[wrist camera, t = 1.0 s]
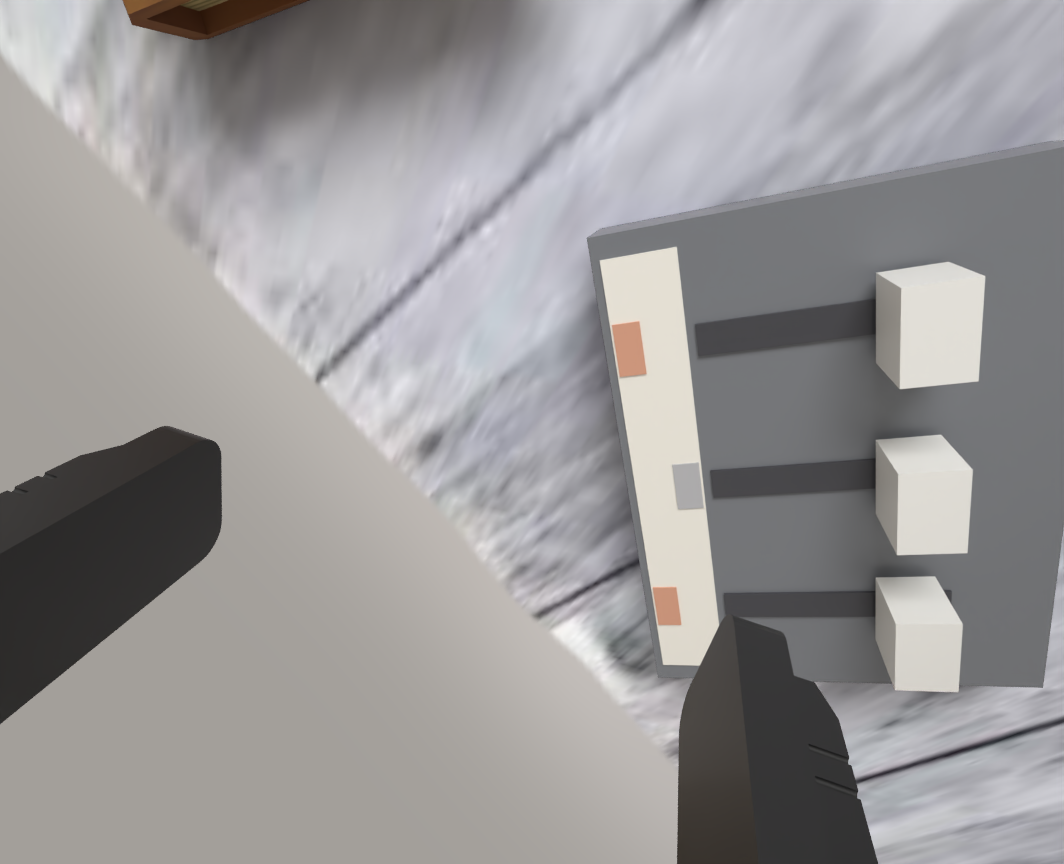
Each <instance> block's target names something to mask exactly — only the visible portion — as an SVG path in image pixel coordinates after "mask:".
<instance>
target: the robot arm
mask: <svg viewBox="0 0 1064 864" xmlns="http://www.w3.org/2000/svg"><path fill="white" fill-rule="evenodd" d="M221 494H222V493H221V451H220V448H219V446H218V445H217V443H216V442H214V441H212V440H209V439H206V438H203V437H200V436H197V435H194V434H191V433H188V432H185V431H182V430H179V429H176V428H173V427H170V426H164V427H159V428H157V429H155V430H153V431H150V432H148V433H146V434H144V435H142V436H141V437H138V438H136V439H134V440H132V441H130V442H128V443H126V444H124V445H121V446H117V447H113V448H109V449H105V450H101V451H97V452H93V453H89V454H85V455H81V456H78V457H76V458H74V459H72V460H70V461H68V462H66V463H64V464H62V465H60V466H57V467H56V468H53V469H51V470H49V471H47V472H45V475H44V476H43V477H40V476H36V477H34V478H32V479H30V480H28V481H26V482H24V483H22V484H20V485H18V486H16V487H15V489H14V491H12V492H10V491H5V492H3V493H1V494H0V724H1V723H2V722H3V721H4V720H6V719H7V718H8V717H9V716H10V715H12V714H13V713H14V712H16V711H17V710H18V709H19V708H20V707H22V706H23V705H24V704H25V703H27V702H28V701H29V700H30V699H32V698H33V697H34V696H35V695H36V694H38V693H39V692H40V691H41V690H43V689H44V688H45V687H46V686H48V685H49V684H50V683H51V682H52V681H54V680H55V679H56V678H57V677H59V676H60V675H61V674H62V673H64V672H65V671H66V670H67V669H69V668H70V667H71V666H72V665H73V664H75V663H76V662H77V661H78V660H80V659H81V658H82V657H83V656H85V655H86V654H87V653H88V652H89V651H91V650H92V649H93V648H94V647H96V646H97V645H98V644H99V643H100V642H102V641H103V640H104V639H106V638H107V637H108V636H109V635H110V634H112V633H113V632H114V631H115V630H117V629H118V628H119V627H120V626H122V625H123V624H124V623H125V622H126V621H128V620H129V619H130V618H131V617H133V616H134V615H135V614H136V613H138V612H139V611H140V610H141V609H142V608H144V607H145V606H146V605H147V604H149V603H150V602H151V601H152V600H154V599H155V598H156V597H157V596H158V595H160V594H161V593H162V592H163V591H165V590H166V589H167V588H168V587H169V586H171V585H172V584H173V583H175V582H176V581H177V580H178V579H179V578H181V577H182V576H183V575H184V574H186V573H187V572H188V571H189V570H191V569H192V568H193V567H194V566H196V565H197V564H198V563H199V562H200V561H202V560H203V559H204V558H205V557H206V556H207V554H208V553H209V552H210V551H211V549H212V548H213V546H214V544H215V542H216V540H217V538H218V536H219V533H220V529H221V521H222V504H221V503H222V499H221V498H222V495H221ZM848 759H849V755H848V752H847V748H846V744H845V741H844V737H843V733H842V730H841V726H840V723H839V719H838V718H837V716H836V715H835V713H834V712H833V710H832V709H831V707H830V706H829V704H828V703H827V701H826V699H825V698H824V696H823V695H822V693H821V692H820V690H819V689H818V687H817V686H816V684H815V683H814V682H812V681H809V680H806V679H803V678H800V677H797V676H794V673H793V669H792V664H791V659H790V654H789V649H788V645H787V640H786V637H785V635H784V633H783V632H781V631H778V630H775V629H772V628H769V627H766V626H763V625H760V624H757V623H754V622H751V621H748V620H745V619H742V618H739V617H736V616H733V615H730V614H728V615H726V616H725V617H724V618H723V620H722V621H721V623H720V625H719V627H718V629H717V631H716V633H715V635H714V637H713V639H712V641H711V644H710V646H709V648H708V650H707V652H706V654H705V656H704V658H703V660H702V662H701V664H700V666H699V668H698V671H697V673H696V675H695V677H694V679H693V681H692V683H691V685H690V687H689V690H688V692H687V695H686V698H685V702H684V705H683V710H682V714H681V720H680V729H679V776H678V783H679V784H678V844H677V847H678V848H677V864H878V862H877V858H876V854H875V851H874V847H873V843H872V840H871V836H870V832H869V829H868V825H867V821H866V818H865V814H864V810H863V807H862V803H861V800H860V799H857V793H858V788H857V785H856V781H855V777H854V774H853V770H852V766H851V765H848Z"/></svg>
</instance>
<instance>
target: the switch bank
mask: <svg viewBox="0 0 1064 864" xmlns="http://www.w3.org/2000/svg"><path fill="white" fill-rule="evenodd" d="M587 242H588V248H589V254H590V260H591V266H592V273H593V279H594V285H595V291H596V297H597V303H598V310H599V316H600V322H601V328H602V334H603V340H604V347H605V353H606V359H607V365H608V371H609V377H610V384H611V390H612V396H613V402H614V408H615V414H616V421H617V427H618V433H619V439H620V445H621V451H622V458H623V464H624V470H625V476H626V482H627V488H628V495H629V501H630V507H631V513H632V519H633V525H634V532H635V538H636V544H637V550H638V556H639V562H640V569H641V575H642V581H643V587H644V593H645V599H646V606H647V612H648V618H649V624H650V630H651V636H652V643H653V649H654V655H655V661H656V667H657V673H658V677H666V678H694V677H695V675H696V673H697V671H698V668H699V666H700V664H701V662H702V660H703V658H704V656H705V654H706V652H707V650H708V648H709V646H710V644H711V641H712V639H713V637H714V635H715V633H716V631H717V629H718V627H719V625H720V623H721V621H722V620H723V618H724V617H725V616H726V615H728V614H730V615H733V616H736V617H739V618H742V619H745V620H748V621H751V622H754V623H757V624H760V625H763V626H766V627H769V628H772V629H775V630H778V631H781V632H783V633H784V635H785V637H786V640H787V645H788V649H789V654H790V659H791V664H792V669H793V673H794V676H797V677H800V678H803V679H806V680H809V681H816V682H853V683H890V684H892V682H891V679H890V676H889V674H888V671H887V668H886V666H885V663H884V660H883V658H882V655H881V653H880V650H879V647H878V645H877V642H876V639H875V620H876V577H926V576H935V577H936V579H937V581H938V582H939V584H940V586H941V587H942V589H943V591H944V593H945V594H946V596H947V598H948V599H949V601H950V603H951V605H952V606H953V608H954V610H955V612H956V613H957V615H958V617H959V618H960V620H961V622H962V624H963V630H962V646H961V661H960V677H959V685H965V686H1003V687H1040V688H1043V683H1044V675H1045V667H1046V659H1047V651H1048V644H1049V636H1050V628H1051V620H1052V612H1053V605H1054V597H1055V589H1056V581H1057V574H1058V566H1059V558H1060V550H1061V542H1062V535H1063V527H1064V140H1063V141H1050V142H1044V143H1039V144H1034V145H1029V146H1024V147H1019V148H1013V149H1008V150H1003V151H998V152H993V153H988V154H983V155H977V156H972V157H967V158H962V159H957V160H952V161H947V162H941V163H936V164H931V165H926V166H921V167H916V168H911V169H905V170H900V171H895V172H890V173H885V174H880V175H875V176H869V177H864V178H859V179H854V180H849V181H844V182H838V183H833V184H828V185H823V186H818V187H813V188H808V189H802V190H797V191H792V192H787V193H782V194H777V195H772V196H766V197H761V198H756V199H751V200H746V201H741V202H736V203H730V204H725V205H720V206H715V207H710V208H705V209H699V210H694V211H689V212H684V213H679V214H674V215H669V216H663V217H658V218H653V219H648V220H643V221H638V222H633V223H627V224H622V225H617V226H612V227H607V228H602V229H599V230H598V231H596V232H595V233H593V234H592V235H591V236H589V237H588V238H587ZM943 262H951V263H953V264H956V265H958V266H961V267H963V268H966V269H969V270H971V271H974V272H976V273H979V274H981V275H984V276H985V290H984V306H983V321H982V337H981V352H980V367H979V381H977V382H967V383H957V384H947V385H937V386H927V387H917V388H907V389H899V388H898V387H897V386H896V385H895V384H894V382H893V381H892V380H891V379H890V378H889V377H888V376H887V375H886V374H885V372H884V371H883V370H882V369H881V368H880V367H879V366H878V365H877V364H876V273H877V272H884V271H891V270H897V269H904V268H910V267H917V266H923V265H930V264H937V263H943ZM930 435H942V436H943V437H944V438H945V439H946V440H947V442H948V443H949V444H950V445H951V446H952V447H953V448H954V449H955V450H956V452H957V453H958V454H959V455H960V456H961V457H962V458H963V459H964V460H965V462H966V463H967V464H968V465H969V466H970V467H971V468H972V469H973V476H972V491H971V507H970V522H969V538H968V553H959V554H924V555H897V554H896V552H895V550H894V548H893V546H892V545H891V543H890V541H889V539H888V537H887V535H886V533H885V531H884V529H883V527H882V525H881V523H880V521H879V519H878V517H877V515H876V440H879V439H892V438H905V437H917V436H930Z"/></svg>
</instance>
